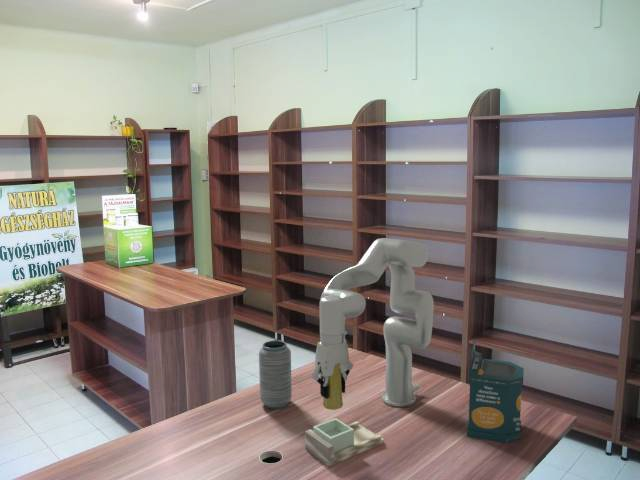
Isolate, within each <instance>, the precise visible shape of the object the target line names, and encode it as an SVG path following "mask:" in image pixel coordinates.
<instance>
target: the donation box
mask: <svg viewBox="0 0 640 480" xmlns="http://www.w3.org/2000/svg"><path fill="white" fill-rule="evenodd" d="M482 356H483V354H482V353H480V352H478V351H476V339H475V338H474V339H473V342H472V346H471V349H470V352H469V364H468V365H469V366H468V367H469V369H468V370H469V371H468V384H469V397H468V398H469V400H468V401H469V403H468V404H469V405H468V406H469V407H468V424H467V428H466V429H467V431H466V437H467V438H473V439H481V440H485V441H492V442H497V443H502V444H503V443H504V444H508V443H511V442H514V441H517V440H520V439H521V431H522V429H521V428H522V421H521V412H522V411H521V410H522V408H521V407H522V388H523V387H522V386H523V385H524V374H525V373H524V369H525V368H524V367H522V366H520V365H518V364H516V363H513V362H511V361H507V360H499V359H497V360H496V359H490V358H489V359H487V358H482Z"/></svg>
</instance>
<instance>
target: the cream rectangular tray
mask: <svg viewBox="0 0 640 480" xmlns="http://www.w3.org/2000/svg"><path fill="white" fill-rule="evenodd" d="M347 425H348V426H349V427H351V428H353V429H354V446H351V447H349V448H347V449H344V450H342V451H339V452H337V453H335V454H334V445H332V444H331V443H329V442H328V441H326V440H325V439H324V438H322V437H321V436H319V435H318V434H316V433H315V432H314V431H313V429H310V428H309V429H307V430H305V431H304V441H305V443H304V445H305V446H304V449H305V450H306V451H307V452H308V453H310V454H311V455H312V456H313V457H315V458H316V459H318V460H319V461H320V462H322V463H323V464H324V465H326V466H327V467H331V466H333V465H335V464H337V463H341V462H342V461H346V460H348V459H349V458H352V457H353V456H356V455H358V454H360V453H363V452H365V451H368V450H370V449H372V448H374V447H376V446H380V445H381V444H382V445H383V443H385V441H384V438H383V437H382V435H380V434H378V435H377V433H375V432H373V431H372V430H370V429H368V428H366V427H364V426H363V425H361V424H360V422H359V421H358V420H357V421H354V422H352V423H349V424H347Z"/></svg>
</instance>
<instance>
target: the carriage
mask: <svg viewBox="0 0 640 480" xmlns="http://www.w3.org/2000/svg"><path fill="white" fill-rule="evenodd" d="M348 425H349V424H346V423H345V422H342V421H341V420H340V419H338V418H337V417H336V418H332V419H329V420H327V421H325V422H321V423H318V424H317V425H314V426H312V431H314V432H315V433H316V434H318V435H319V436H321V437H322V438H324V439H325V440H326V441H328V442H329V443H331V444H332V445H334V454H335V453H337V452H339V451H342V450H344V449H347V448H349V447H351V446H354V429H353V428H351V427H349V426H348Z"/></svg>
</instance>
